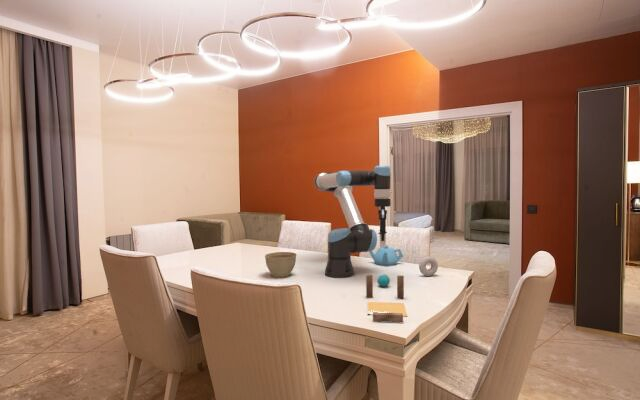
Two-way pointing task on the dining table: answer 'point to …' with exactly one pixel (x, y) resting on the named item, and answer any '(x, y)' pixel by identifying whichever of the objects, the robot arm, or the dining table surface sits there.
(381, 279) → the ball
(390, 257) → the teapot
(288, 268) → the planter bowl
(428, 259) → the donut
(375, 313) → the brown rectangular bar
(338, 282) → the dining table surface
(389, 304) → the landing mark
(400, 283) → the right post
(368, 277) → the left post
